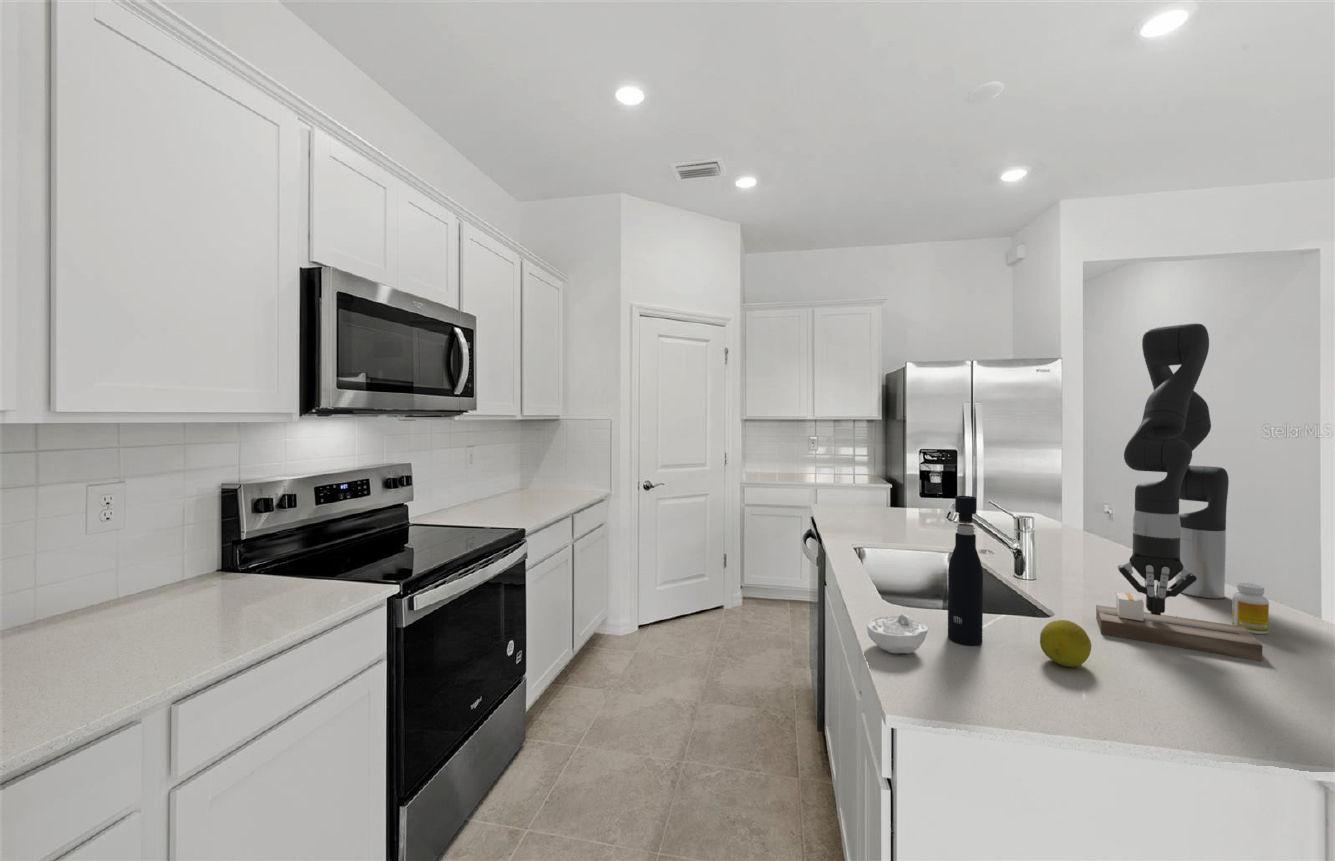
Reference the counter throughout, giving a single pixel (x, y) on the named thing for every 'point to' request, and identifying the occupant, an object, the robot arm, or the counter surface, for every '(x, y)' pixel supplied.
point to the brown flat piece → (1181, 633)
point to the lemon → (1065, 643)
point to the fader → (1129, 606)
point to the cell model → (897, 633)
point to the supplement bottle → (1250, 608)
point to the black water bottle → (965, 580)
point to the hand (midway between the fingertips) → (1155, 613)
